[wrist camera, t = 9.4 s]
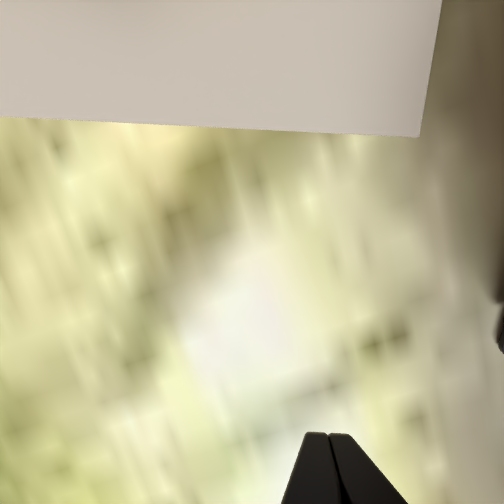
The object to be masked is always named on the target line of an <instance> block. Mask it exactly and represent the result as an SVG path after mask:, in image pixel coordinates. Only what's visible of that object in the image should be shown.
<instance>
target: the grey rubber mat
mask: <svg viewBox="0 0 504 504" xmlns="http://www.w3.org/2000/svg"><path fill="white" fill-rule="evenodd" d="M441 4H442V0H0V117H20V118H40V119H60V120H80V121H100V122H119V123H139V124H159V125H179V126H199V127H219V128H239V129H259V130H278V131H298V132H318V133H338V134H358V135H378V136H398V137H418V138H419V135H420V129H421V123H422V117H423V111H424V105H425V99H426V93H427V87H428V81H429V75H430V69H431V64H432V58H433V52H434V46H435V40H436V34H437V28H438V22H439V16H440V10H441Z"/></svg>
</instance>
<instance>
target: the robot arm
mask: <svg viewBox="0 0 504 504" xmlns="http://www.w3.org/2000/svg"><path fill="white" fill-rule="evenodd" d="M503 322H504V318H503ZM499 349H500V351H501V352H502V353H503V354H504V326H503V329H502V333H501V337H500V340H499ZM281 504H408V503H407V502H406V501H405V499H404V498H403V497H402V496H401V495H400V494H399V492H398V491H397V490H396V489H395V488H394V486H393V485H392V484H391V483H390V482H389V480H388V479H387V478H386V477H385V476H384V474H383V473H382V472H381V471H380V470H379V469H378V467H377V466H376V465H375V464H374V463H373V461H372V460H371V459H370V458H369V457H368V455H367V454H366V453H365V452H364V451H363V450H362V448H361V447H360V446H359V445H358V444H357V442H356V441H355V440H354V439H353V438H352V437H351V436H350V435H349V434H341V433H330V434H329V435H327V434H326V433H323V432H307V433H306V434H305V436H304V439H303V442H302V445H301V448H300V450H299V453H298V456H297V459H296V462H295V465H294V468H293V470H292V473H291V476H290V479H289V482H288V485H287V488H286V491H285V493H284V496H283V499H282V502H281Z"/></svg>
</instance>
